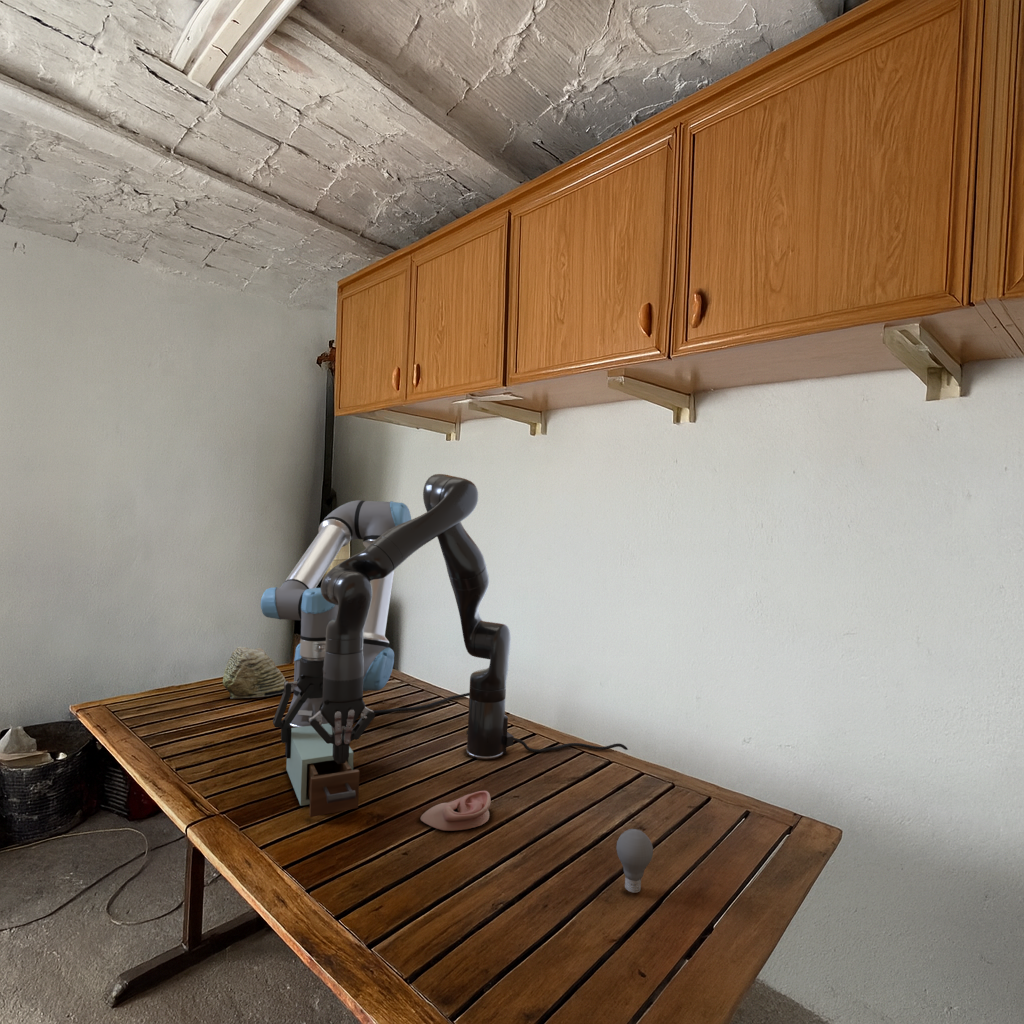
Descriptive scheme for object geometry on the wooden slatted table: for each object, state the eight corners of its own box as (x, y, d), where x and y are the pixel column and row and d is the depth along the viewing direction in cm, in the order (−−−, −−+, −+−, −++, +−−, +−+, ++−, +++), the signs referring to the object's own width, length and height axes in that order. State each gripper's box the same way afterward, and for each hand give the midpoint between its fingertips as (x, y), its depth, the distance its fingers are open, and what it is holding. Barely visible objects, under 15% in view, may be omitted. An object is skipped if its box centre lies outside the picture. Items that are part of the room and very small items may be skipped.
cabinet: (352, 796, 134) (353, 752, 134) (300, 806, 129) (302, 759, 129) (332, 762, 151) (333, 722, 151) (286, 769, 146) (287, 728, 146)
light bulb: (610, 879, 108) (613, 822, 108) (644, 879, 109) (647, 822, 109) (619, 902, 102) (622, 840, 102) (655, 901, 103) (658, 840, 103)
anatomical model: (415, 806, 123) (434, 781, 134) (414, 826, 123) (433, 799, 134) (481, 816, 120) (495, 789, 132) (480, 836, 120) (494, 808, 132)
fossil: (218, 695, 195) (220, 647, 195) (278, 685, 208) (279, 640, 207) (228, 703, 189) (230, 653, 188) (289, 692, 201) (290, 645, 201)
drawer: (365, 820, 123) (366, 782, 122) (315, 830, 118) (317, 791, 118) (338, 773, 143) (339, 740, 143) (295, 780, 139) (296, 746, 139)
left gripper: (265, 664, 136) (261, 766, 137) (371, 656, 147) (367, 750, 147) (261, 656, 143) (257, 753, 143) (362, 649, 154) (359, 739, 154)
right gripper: (311, 682, 115) (308, 776, 116) (382, 675, 122) (379, 764, 122) (304, 671, 122) (301, 760, 123) (372, 665, 128) (369, 749, 129)
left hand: (313, 752), depth 145 cm, fingers closed on cabinet, 10 cm apart
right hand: (340, 761), depth 122 cm, fingers closed
